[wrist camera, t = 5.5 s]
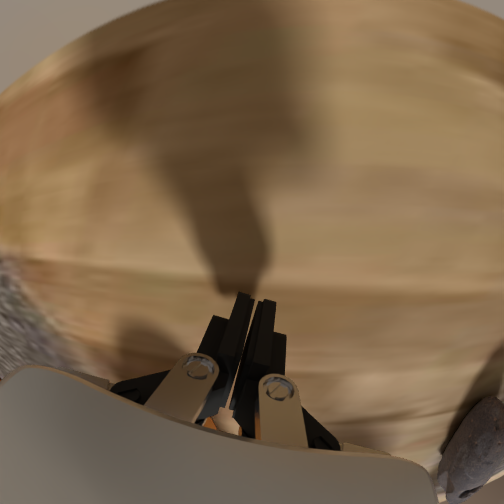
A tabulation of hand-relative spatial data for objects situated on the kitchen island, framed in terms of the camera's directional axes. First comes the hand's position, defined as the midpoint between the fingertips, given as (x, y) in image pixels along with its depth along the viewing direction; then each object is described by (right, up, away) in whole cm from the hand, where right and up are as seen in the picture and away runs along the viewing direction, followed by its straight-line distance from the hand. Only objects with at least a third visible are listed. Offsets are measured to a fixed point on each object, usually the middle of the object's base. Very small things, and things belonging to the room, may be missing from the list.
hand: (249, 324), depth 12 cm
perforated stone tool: (+20, -13, +5) cm, 25 cm away
